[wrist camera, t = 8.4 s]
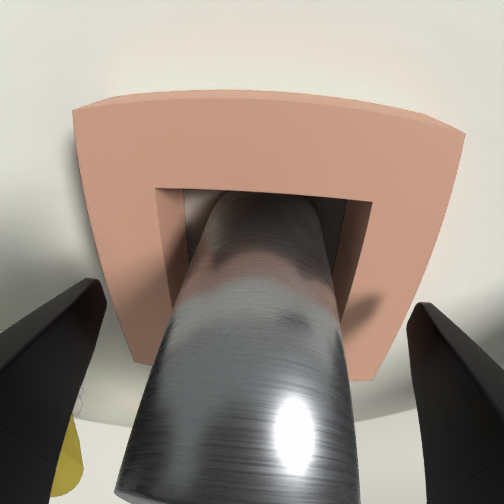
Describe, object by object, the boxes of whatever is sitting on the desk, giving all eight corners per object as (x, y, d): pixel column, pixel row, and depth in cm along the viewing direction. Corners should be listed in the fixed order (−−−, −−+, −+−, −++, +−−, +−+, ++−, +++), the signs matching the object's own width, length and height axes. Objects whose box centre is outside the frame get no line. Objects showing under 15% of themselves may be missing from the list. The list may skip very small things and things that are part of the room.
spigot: (328, 185, 10) (405, 496, 2) (312, 282, 12) (326, 529, 5) (205, 177, 10) (70, 465, 3) (210, 275, 12) (149, 513, 5)
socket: (426, 114, 8) (465, 133, 6) (363, 336, 14) (372, 380, 12) (114, 96, 9) (71, 110, 6) (151, 320, 14) (134, 362, 12)
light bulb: (35, 377, 20) (-7, 469, 12) (34, 341, 17) (-26, 457, 9) (101, 414, 22) (69, 511, 14) (115, 388, 19) (73, 514, 10)
